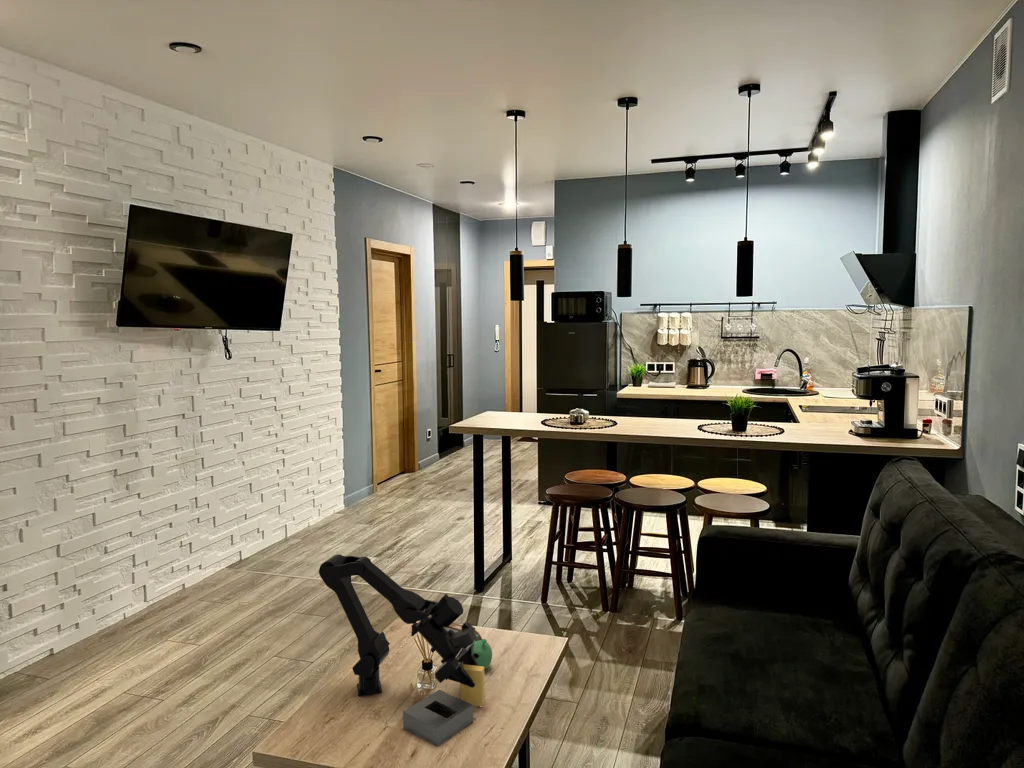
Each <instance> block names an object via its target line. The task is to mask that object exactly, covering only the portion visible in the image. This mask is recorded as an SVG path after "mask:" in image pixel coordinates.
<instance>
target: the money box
mask: <svg viewBox="0 0 1024 768" xmlns="http://www.w3.org/2000/svg"><path fill="white" fill-rule="evenodd" d="M438 709H441V710H443V711H446V712H447V713H449V714H451V716H449V717H447V718H446V717H444V716H443V715H441V714H438V713H437V712H435V711H437V710H438ZM402 717H403V718H402V727H403V729H404V730H406V731H408V732H410V733H412V734H414V735H416V736H417V737H419V738H421V739H424V740H425V741H427V742H429V743H431V744H432V745H434V746H435V747H438V746H439V745H441V744H442V743H444V742H445V741H447V740H449V738H451V737H453V736H454V735H455V734H457V733H458V732H461V731H462V730H463V729H464V728H466V727H467V726H469V725H470V724H472V723H473V722H474V706H473V705H472V704H470V703H468V702H465V701H463V700H461V698H460V697H459V698H458V697H457V696H454V695H452V694H450V693H448V692H446V691H444V690H442V689H438V690H435V691H434V692H432V693H431V694H429V695H428V696H426V697H424V698H422V699H420V700H419V701H417V702H416V703H414V704H413V705H412V704H411V706H409V707H408V708H406V709H403V711H402Z"/></svg>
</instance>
